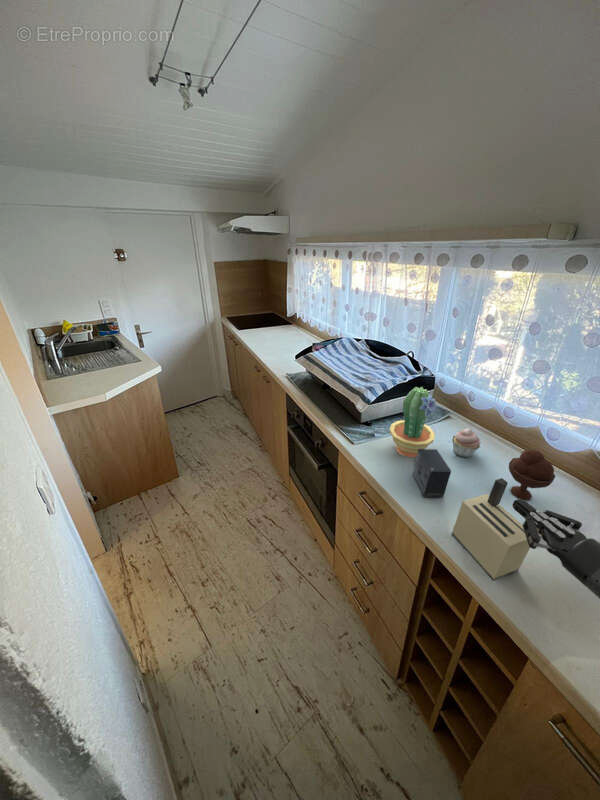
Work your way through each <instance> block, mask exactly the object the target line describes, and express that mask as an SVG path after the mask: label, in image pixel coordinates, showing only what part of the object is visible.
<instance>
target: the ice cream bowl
mask: <svg viewBox="0 0 600 800" xmlns="http://www.w3.org/2000/svg"><path fill="white" fill-rule="evenodd" d="M508 471H509V473H510V475H511V477H512V478H513V479H514V481H515V482H517V483H518V484H520V486H519V485H515V486H514V485H513V486H512V487H510V489H509V491H510V493H511V495H512V496H514V497H515V498H517V499H522V500H524V501H531V499H532V498H533V494H532V493H531V491H530V490H528V488H530V489H541V488H548V487H549V486H550V485H551V484H552V483H553V482H554V481H555V478H556V474H555V468H554V465H553V463H551V462H550V461H549V460H547V459H546V458H545V456H544V454H543V453H542V452H541V451H540V450H538V449H534V448H528V449H524V450H523V451H522V452H521V454H520V455H519V457H513V458H512V459H511V460H510V461H509V463H508Z"/></svg>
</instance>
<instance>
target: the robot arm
mask: <svg viewBox="0 0 600 800" xmlns="http://www.w3.org/2000/svg"><path fill="white" fill-rule="evenodd" d="M512 508H513V510H514V511H516V512H517V513H518V514H519V515H520V516H521V517H522V518H524V519H525V520H524V522H523V523H522V525H523V529H524V532H525V535H526V538H527V541H528V545H529V547H530V549H532V550H536V549H537V547H538V548H541V549H545V550H546V551H547V552H548V553H549V554H551V555H553V556H554V557H556V558H558V560H559V561H560V563H561V566H562V567H563V568H564V569H565V570H566V571H567V572H568V573H570V574H571V576H573V577H574V578H575V579H577V580H578V581H579V582H580V583H581V584H582V585H583V586H584V587H585V588H587V589H588V590H589V591H590V592H591V593H593V595H595V597H597V598H598V599H599V600H600V542H599V541H598V540H597V539H595V538H590V537H589V538H588V537H586V535H585V534H584V533H583V532H581V528H582V526H583V523H582V522H581V521H579V520H577V519H574V518H571V517H568V516H566V515H563V514H560V513H557V512H555V511H552V510H548V509H546V510H545V511H542V510H540V509H536V508H535V507H534V506H533V505H531V504H530V503H529V502H527V500H522V499H519V498H517V499H515V500H513V502H512Z"/></svg>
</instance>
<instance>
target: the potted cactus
mask: <svg viewBox="0 0 600 800" xmlns="http://www.w3.org/2000/svg"><path fill="white" fill-rule="evenodd" d="M436 402H437V401H436V400H435V398H433V396H432V395H431V394H430V392H429V391H428V389H427V388H425V389H424V387H423V386H420V387H418V386H415V387H413V389H411V390H410V391H409V392H408V393H407V395H406V396H405V397H404V398H403V399H402V413H403V415H404V416H403V418H404V419H403V420H397V421H395V422H393V423H392V424H391V425H390V427H389V434H390V435H391V437H392V440H393V442H394V444H395V445H396V446H395V449H396V451H397V452H398V453H399V454H400V455H402V456H403V457H408V458H417V453H418V449H428V447H429V445H431V444H433V442H434V441H435V437H436V433H435V431H434V430H433V429H432V428H431V427H430V426H429V425H427V424H425V423H426V419H427V418H428V416H429V415H430V414H435V412H436V409H437V403H436Z"/></svg>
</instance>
